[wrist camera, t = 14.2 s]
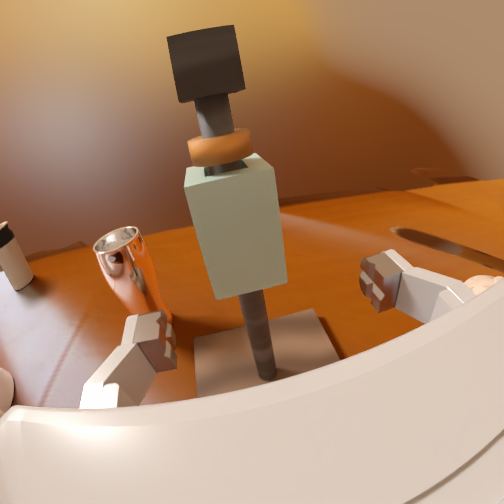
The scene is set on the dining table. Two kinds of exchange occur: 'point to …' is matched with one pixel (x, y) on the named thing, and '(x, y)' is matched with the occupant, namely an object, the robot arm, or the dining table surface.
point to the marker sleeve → (238, 226)
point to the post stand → (219, 161)
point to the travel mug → (13, 259)
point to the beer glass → (130, 271)
